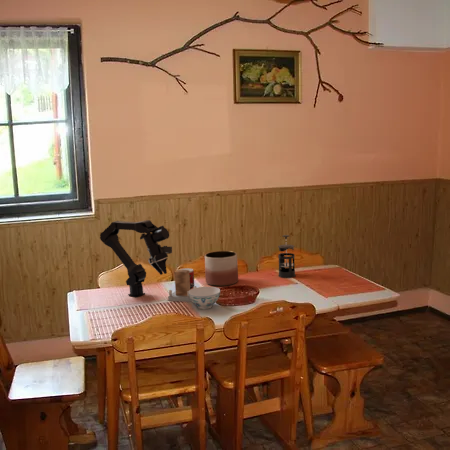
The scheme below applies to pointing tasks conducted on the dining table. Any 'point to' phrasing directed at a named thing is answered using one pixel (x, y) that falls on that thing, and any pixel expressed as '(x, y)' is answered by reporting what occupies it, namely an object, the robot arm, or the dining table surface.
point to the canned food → (191, 275)
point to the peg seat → (178, 297)
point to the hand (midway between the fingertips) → (163, 274)
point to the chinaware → (204, 296)
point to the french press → (282, 270)
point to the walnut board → (182, 282)
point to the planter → (221, 268)
